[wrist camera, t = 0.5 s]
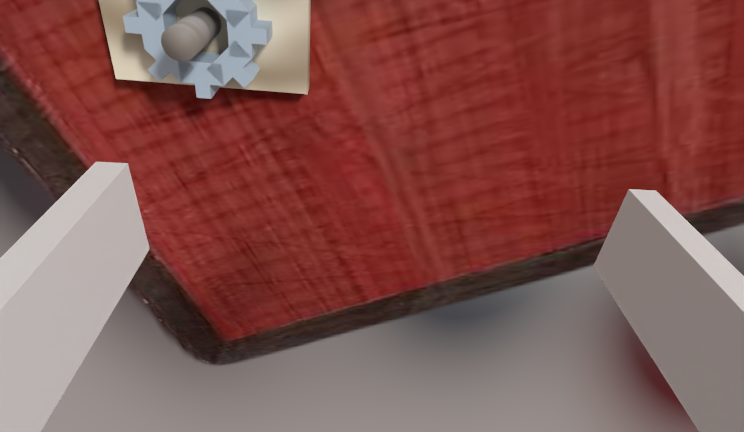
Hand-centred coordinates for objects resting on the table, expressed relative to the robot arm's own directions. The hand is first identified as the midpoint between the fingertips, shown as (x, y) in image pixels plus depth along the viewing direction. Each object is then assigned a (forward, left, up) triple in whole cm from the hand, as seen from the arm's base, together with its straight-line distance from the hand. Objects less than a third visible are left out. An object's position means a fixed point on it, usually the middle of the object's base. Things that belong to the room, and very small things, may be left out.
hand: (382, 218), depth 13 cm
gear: (+1, -11, -24) cm, 26 cm away
